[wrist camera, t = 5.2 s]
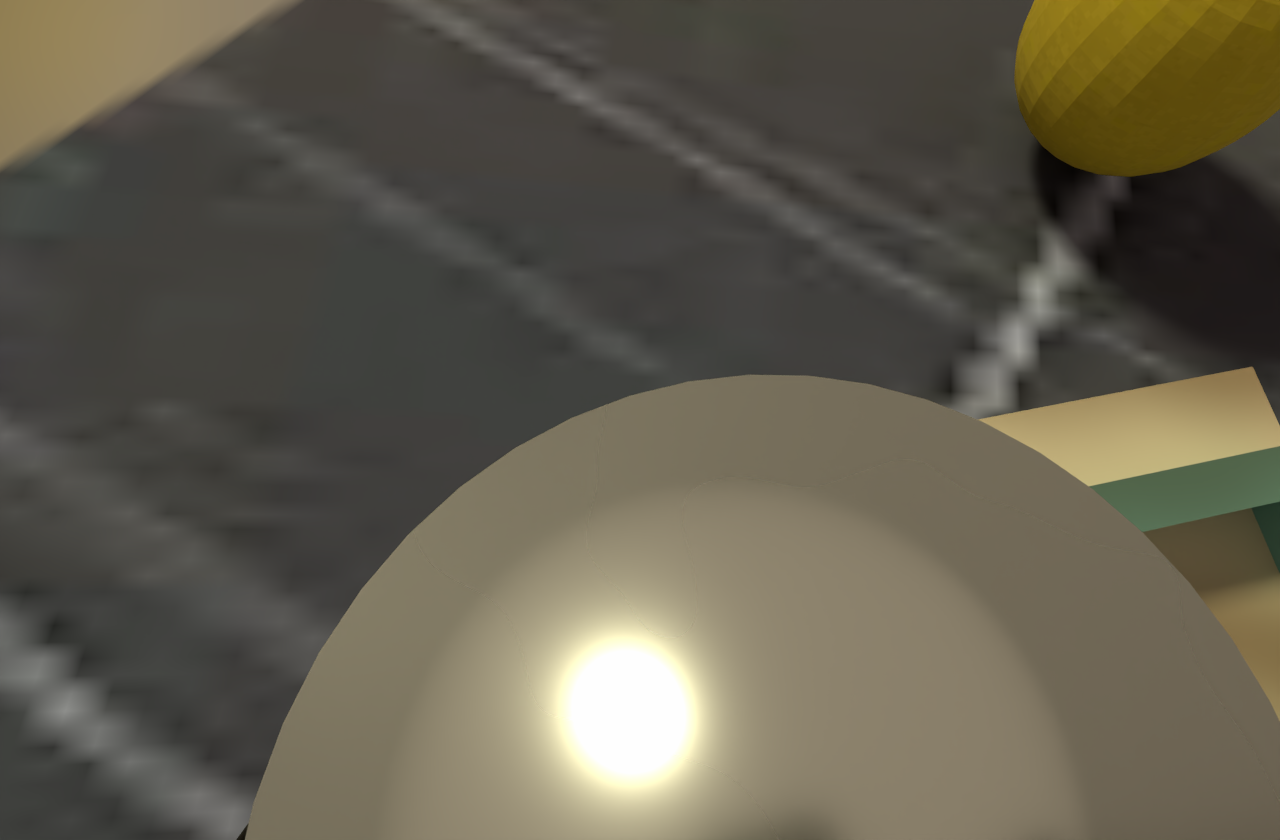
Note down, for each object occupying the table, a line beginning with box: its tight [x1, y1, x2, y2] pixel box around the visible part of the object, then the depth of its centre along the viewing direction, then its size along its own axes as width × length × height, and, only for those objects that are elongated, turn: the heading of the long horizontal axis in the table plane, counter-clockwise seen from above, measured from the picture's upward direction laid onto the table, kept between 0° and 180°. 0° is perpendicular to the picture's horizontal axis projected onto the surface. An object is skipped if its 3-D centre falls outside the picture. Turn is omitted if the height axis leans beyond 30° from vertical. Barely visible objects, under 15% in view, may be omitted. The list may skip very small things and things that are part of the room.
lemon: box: [1015, 0, 1280, 177], centre depth 16 cm, size 6×6×8 cm
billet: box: [245, 375, 1280, 840], centre depth 9 cm, size 4×4×12 cm
